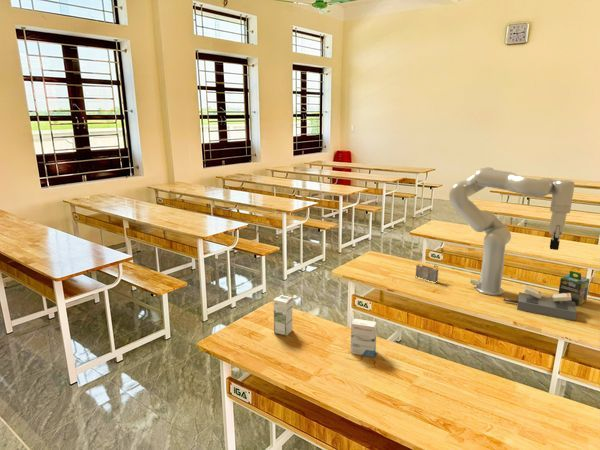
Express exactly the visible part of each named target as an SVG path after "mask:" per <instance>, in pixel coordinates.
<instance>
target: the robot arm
mask: <svg viewBox="0 0 600 450" xmlns="http://www.w3.org/2000/svg"><path fill="white" fill-rule="evenodd" d="M485 188H491V189H498V190H504V191H508V192H512V193H516V194H520V195H525V196H530V197H531V196H532V197H535V198H544V197H546V196H548V195H549V196H550V195H552V196H551V201H550V208H549V211H550V212H552V213H551V217H550V223H549V228H548V234H549V235H551V238H550V243H549V250H553V251H554V250H555V251H559V248H560V247H559V246H560V239H561V236H563V235H564V229H565V224H566V219H567V214H570V213H571V209H572V201H573V196H574V192H575V182H574V181H572V180H567V179H552V178H547V177H543V178H540V179H538V178H537V179H536V178H530V177H526V176H525V177H524V176H520V175H518V174H516V173H515V172H512V171H504V170H497V169H494V168H492V167H487V166H486V167H482V168H480V169H477V170H476V171H475V172H474V174H473V175H472V176H470V177H468V178H466V179H465V180H461V181H459V182H458V181H457V182H455V183H454V184H453V185H452V187H451V188H450V191H449V194H448V196H449V197H448V198H449V203H450V205H451V206H452V207H453V209H454V211H456V212H457V213H458V214H459V215H460V216H461V217H462V219H463V220H464V221H465V222H466V223H467V224H468V225H469V226H470V227H471V228H472V230H474V231H475V232H478V233H483V232H484V233H485V236H484V238H483V253H482V254H483V255H482V261H481V263H482V265H481V270H480V271H481V272H480V278H479V279H478V280H475V279H470V284H472V285H473V286H475V291H477V292H478V293H480V294H483V295H487V296H497V297H498V296H501V295H503V294H504V289H503V288H501V287H502V279H503V273H504V265H505V255H506V253H505V252H506V245H507V244H508V243H510V241H511V239H512V235H511V231H510V229H509V228H508V227H507V226H506V225H505V224H503V222H502V221H501V220H500V218H498V217H497V216H496V215H495V214H493V212H490V211H488V210H481V209H480V208H478V206H477V205H476V204H475V203H474V202H473V201H471V200H470V199H469V197H471V196H472V195H474V194H476V193H479V192H480V191H482V190H484V189H485Z"/></svg>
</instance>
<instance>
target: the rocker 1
mask: <svg viewBox="0 0 600 450" xmlns="http://www.w3.org/2000/svg"><path fill="white" fill-rule="evenodd" d="M523 290H524V292H523V293H527V294H530V295H533V296H535V297H537V298H541V296H543V294H542V293H543V292H542V291H540V290H537V289H535V288H533V287H531V286H528V285H525V287H524V289H523Z"/></svg>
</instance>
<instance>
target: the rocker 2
mask: <svg viewBox="0 0 600 450" xmlns="http://www.w3.org/2000/svg"><path fill="white" fill-rule="evenodd" d="M552 298H553V301H568V300H571V294H570V293H562V294H558V293H552Z"/></svg>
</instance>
